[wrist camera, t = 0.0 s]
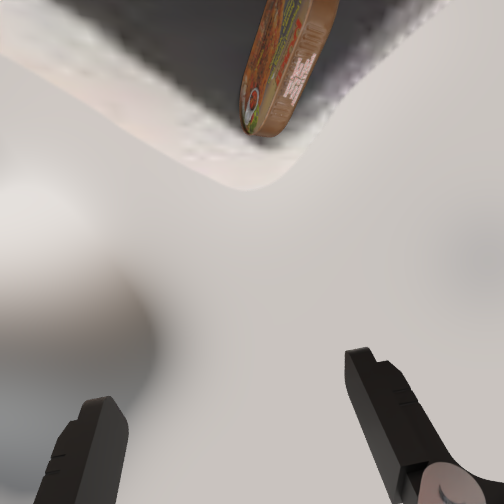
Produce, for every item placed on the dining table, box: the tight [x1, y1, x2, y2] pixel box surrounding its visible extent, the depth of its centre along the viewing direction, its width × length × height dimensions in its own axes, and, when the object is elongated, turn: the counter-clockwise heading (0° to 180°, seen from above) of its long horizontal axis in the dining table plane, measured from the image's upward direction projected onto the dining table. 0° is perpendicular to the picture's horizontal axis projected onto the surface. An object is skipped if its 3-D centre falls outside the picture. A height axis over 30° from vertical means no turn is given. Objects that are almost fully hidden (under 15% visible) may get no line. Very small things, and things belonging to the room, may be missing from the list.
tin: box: [239, 0, 339, 137], centre depth 29 cm, size 15×3×8 cm, turn 160°
